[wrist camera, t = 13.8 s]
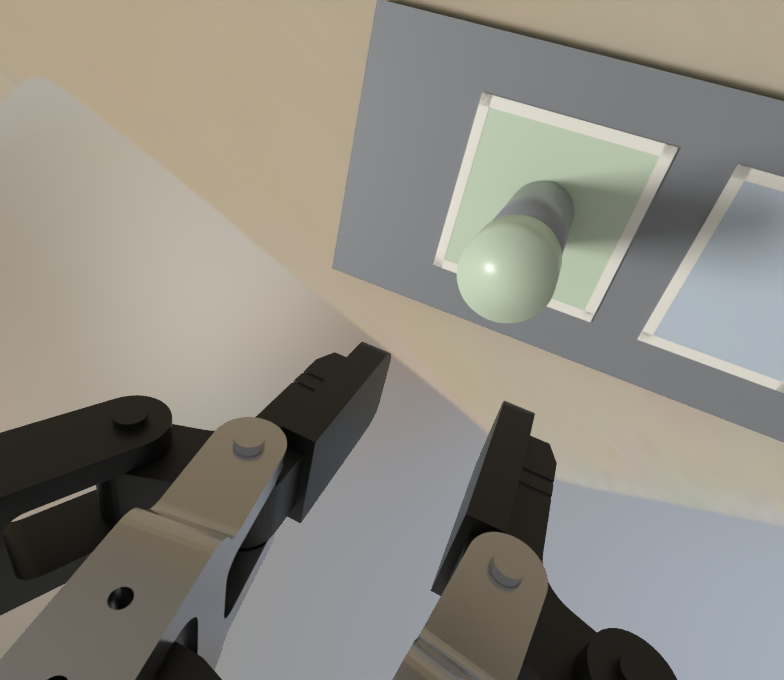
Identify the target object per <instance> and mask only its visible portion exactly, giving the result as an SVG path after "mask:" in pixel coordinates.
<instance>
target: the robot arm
mask: <svg viewBox="0 0 784 680" xmlns="http://www.w3.org/2000/svg"><path fill="white" fill-rule="evenodd" d="M390 359H391V353H389V352H386V351H384V350H381V349H379V348H376V347H374V346H372V345H369V344H367V343H364V342H361V343H360V344H359V345H358V346H357V347H356V348H355V349H354V350H353V351H352V352H351V353H350V354H349V355H348V357H344V356H342V355H340V354H337V353H332V354H329V355H327V356H324V357H321V358H319V359H316V360H315V361H314V363H312V364H311V365H310V366H309V367H308V368H307V369H306V370H305V371H304V373H302V374H301V375H300V376H298V377H297V378H296V379H295V380H294V383H291V384H290V385H289V386H288V387H287V388H286V389H285V390H284V391H283V392H282V393H281V394H280V395H278V396H277V397H276V398H275V399H274V400H273V401H272V402H271V403H270V404H269V405H268V406H267V407H266V408H265V409H264V410H263V411H262V412H261V413H259V414H258V416H256V417H244V418H238V419H234V420H231V421H228V422H226V423H224V424H223V425H221V426H220V427H219V428H218V429H217V430H216V431H209V430H202V429H196V428H191V427H185V426H180V425H174V424H172V414H171V411H170V409H169V408H168V406H167V405H166V404H164V403H163V402H162V401H160V400H157V399H155V398H152V397H147V396H138V395H136V396H125V397H120V398H116V399H113V400H109V401H106V402H103V403H99V404H96V405H93V406H89V407H86V408H82V409H79V410H76V411H72V412H69V413H66V414H62V415H59V416H55V417H52V418H49V419H46V420H42V421H39V422H35V423H32V424H28V425H25V426H22V427H19V428H15V429H12V430H8V431H5V432H1V433H0V615H2V614H4V613H6V612H8V611H10V610H12V609H14V608H16V607H18V606H20V605H23V604H24V603H26V602H28V601H31V600H33V599H34V598H37V597H39V596H41V595H43V594H45V593H47V592H49V591H51V590H53V589H55V588H57V587H59V586H61V585H63V584H65V583H66V584H65V585H64V586H63V587H62V588H61V590H60V591H59V592H58V593H57V594H56V595H55V596H54V598H53V599H52V600H51V601H50V602H49V603H48V605H47V606H46V607H45V608H44V609H43V611H42V612H41V613H40V614H39V615H38V616H37V617H36V619H35V620H34V621H33V622H32V623H31V625H30V626H29V627H28V628H27V629H26V630H25V632H24V633H23V634H22V635H21V636H20V637H19V638H18V640H17V641H16V642H15V643H14V644H13V645H12V647H11V648H10V649H9V650H8V651H7V652H6V654H5V655H4V656H3V657H2V658H1V659H0V680H222V679H221V678H220V677H219V676H218V675H217V673H216V672H215V671H214V670H215V667H216V665H217V662H218V659H219V657H220V654H221V651H222V647H223V643H224V641H225V638H226V635H227V633H228V630H229V628H230V626H231V624H232V622H233V620H234V618H235V616H236V614H237V612H238V610H239V607H240V606H241V604H242V602H243V600H244V598H245V596H246V594H247V592H248V590H249V588H250V586H251V584H252V582H253V580H254V578H255V576H256V574H257V572H258V570H259V568H260V566H261V564H262V562H263V560H264V558H265V556H266V555H267V552H268V550H269V548H270V547H271V544H272V542H273V539H274V533H275V532H276V530H277V529H278V528H279V526H280V525H281V524H282V522H283V521H284V520H285V518H286V517H287V516H288V517H290V518H291V519H294V520H295V521H297V522H299V523H301V522H302V520H303V519H304V518H305V516H306V515H307V513H308V512H309V511H310V509H311V508H312V506H313V505H314V503H315V502H316V501H317V499H318V498H319V496H320V495H321V493H322V492H323V491H324V489H325V488H326V486H327V485H328V483H329V482H330V480H331V479H332V477H333V476H334V475H335V473H336V472H337V471H338V469H339V468H340V466H341V465H342V464H343V462H344V461H345V459H346V458H347V456H348V455H349V453H350V452H351V451H352V449H353V448H354V446H355V445H356V444H357V442H358V441H359V439H360V438H361V436H362V435H363V434H364V432H365V431H366V429H367V428H368V426H369V425H370V423H371V421H372V419H373V417H374V415H375V413H376V411H377V408H378V405H379V402H380V398H381V394H382V390H383V387H384V383H385V379H386V376H387V371H388V368H389V364H390ZM534 415H535V413H533V412H530V411H528V410H525V409H523V408H521V407H518V406H516V405H513V404H511V403H509V402H506V401H503V403H502V405H501V408H500V410H499V412H498V414H497V417H496V419H495V421H494V424H493V426H492V428H491V430H490V433H489V435H488V437H487V440H486V442H485V444H484V446H483V449H482V451H481V453H480V456H479V458H478V461H477V463H476V466H475V468H474V471H473V474H472V477H471V479H470V482H469V485H468V488H467V491H466V494H465V497H464V499H463V502H462V505H461V508H460V510H459V513H458V516H457V519H456V522H455V524H454V527H453V530H452V533H451V536H450V538H449V542H448V544H447V547H446V549H445V552H444V555H443V558H442V561H441V563H440V566H439V569H438V572H437V575H436V577H435V580H434V583H433V586H432V589H431V591H432V592H434V593H436V594H438V595H440V596H441V597H440V599H439V601H438V603H437V604H436V606H435V608H434V610H433V612H432V614H431V615H430V617H429V619H428V621H427V622H426V624H425V626H424V628H423V630H422V631H421V633H420V635H419V636H418V638H417V639H416V640H415V641H414V643H413V644H412V646H411V648H410V650H409V651H408V653H407V655H406V657H405V658H404V660H403V662H402V664H401V666H400V667H399V669H398V671H397V673H396V674H395V676H394V678H393V680H677V678H676V676H675V675H674V673H673V671H672V669H671V668H670V666H669V665H668V663H667V662H666V661H665V660H664V658H663V657H662V656H661V655H660V654H659V653H658V652H657V651H656V650H655V649H654V648H653V647H652V646H651V645H649V643H647V642H646V641H645V640H643V639H642V638H640V637H638V636H637V635H635V634H633V633H631V632H628V631H625V630H623V629H617V628H608V629H603V630H601V631H599V632H595V631H594V630H593V629H592V628H590V626H588V625H587V624H586V623H585V622H584V621H582V620H581V619H580V618H579V617H578V616H576V615H575V614H574V613H573V612H572V611H571V610H570V609H568V608H567V607H566V606H565V605H564V604H563V603H562V601H561V600H560V599H559V598H558V597H557V595H556V594H555V593H554V591H553V590H552V588H551V586H550V584H549V583H548V579H547V574H546V571H545V568H544V566H543V561H542V560H543V549H544V544H545V537H546V530H547V523H548V517H549V510H550V503H551V496H552V490H553V482H554V477H555V470H556V464H557V463H556V460H555V458H554V455H553V452H552V449H551V447H550V444H549V443H546V442H544V441H541V440H539V439H537V438H534V437H532V436H530V433H531V428H532V424H533V420H534ZM94 485H96V488H97V490H94V491H92V492H89V493H87V494H84V495H82V496H79V497H77V498H74V499H72V500H69V501H66V502H64V503H62V504H59V505H57V506H54V507H51V508H49V509H47V510H44V511H41V512H39V513H36V514H34V515H31V516H29V517H26V518H24V519H21V520H18V521H15V522H11V521H12V520H13V519H15V518H16V517H18V516H20V515H21V514H23V513H26V512H28V511H30V510H33V509H36V508H38V507H41V506H43V505H46V504H48V503H51V502H54V501H56V500H58V499H61V498H64V497H66V496H69V495H71V494H74V493H76V492H79V491H81V490H84V489H86V488H89V487H92V486H94Z"/></svg>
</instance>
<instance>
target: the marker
mask: <svg viewBox="0 0 784 680" xmlns="http://www.w3.org/2000/svg"><path fill="white" fill-rule="evenodd" d="M573 216H574V206H573V202H572V199H571V197H570V195H569V194H568V193H567V191H566V190H565V189H564V188H563V187H561V186H560V185H558V184H556V183H554V182H550V181H544V180H542V181H534V182H531V183H528V184H526V185H524V186H523V187H521V188H520V189H519V190H518V191H517V192H516V193H515V194H514V195H513V197H512V198H511V199H510V200H509V201H508V203H507V204H506V205H505V206H504V207H503V208H502V210H501V211H500V212H499V213H498V214H497V216H496V217H495V218H494V219H493V220H492V221H491V222H490V223H488V224H487V225H486V226H485V227H484V228H483V229H482V230H481V231H480V232H479V233H478V234H477V235H476V237H475V238H474V239H473V240H472V241H471V242H470V244H469V245H468V246H467V247H466V249H465V250H464V251H463V253H462V255H461V257H460V259H459V262H458V266H457V283H458V287H459V291H460V293H461V295H462V297H463V299H464V300H465V302H466V303H467V304H468V306H469V307H470V308H471V309H472V310H473V311H475V312H476V313H477V314H479V315H480V316H482V317H484V318H486V319H488V320H491V321H494V322H498V323H507V324H509V323H519V322H523V321H526V320H528V319H531V318H533V317H534V316H536V315H537V314H539V313H540V312H541V311H542V310H543V309H544V308H545V307H546V306H547V305H548V303H549V302H550V300H551V299H552V297H553V294H554V292H555V289H556V285H557V281H558V278H559V274H560V271H561V266H562V255H563V251H564V248H565V244H566V241H567V237H568V234H569V231H570V227H571V224H572V220H573Z"/></svg>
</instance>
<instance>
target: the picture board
mask: <svg viewBox="0 0 784 680" xmlns="http://www.w3.org/2000/svg"><path fill="white" fill-rule="evenodd" d="M542 180H544V181H550V182H554V183H556V184H558V185H560V186H561V187H563V188H564V189H565V190H566V191H567V193H568V194H569V195H570V197H571V199H572V202H573V206H574V216H573V220H572V224H571V227H570V231H569V234H568V237H567V241H566V244H565V248H564V251H563V255H562V266H561V271H560V274H559V278H558V281H557V285H556V289H555V292H554V294H553V297H552V299H551V300H550V302H549V303H548V305H547V306H546V307H545V308H544V309H543V310H542V311H541V312H540V313H539V314H537V315H536V316H534V317H533V318H531V319H528V320H526V321H523V322H519V323H509V324H507V323H498V322H494V321H491V320H488V319H486V318H484V317H482V316H480V315H479V314H477V313H476V312H475V311H473V310H472V309H471V308H470V307H469V306H468V304H467V303H466V302H465V300H464V299H463V297H462V295H461V293H460V291H459V287H458V283H457V266H458V262H459V259H460V257H461V255H462V253H463V251H464V250H465V249H466V247H467V246H468V245H469V244H470V242H471V241H472V240H473V239H474V238H475V237H476V235H477V234H478V233H479V232H480V231H481V230H482V229H483V228H484V227H485V226H486V225H487V224H488V223H490V222H491V221H492V220H493V219H494V218H495V217H496V216H497V214H498V213H499V212H500V211H501V210H502V208H503V207H504V206H505V205H506V204H507V203H508V201H509V200H510V199H511V198H512V197H513V195H514V194H515V193H516V192H517V191H518V190H519V189H520V188H521V187H523V186H524V185H526V184H528V183H531V182H534V181H542ZM332 268H333V269H335V270H338V271H341V272H343V273H346V274H348V275H351V276H354V277H356V278H359V279H361V280H364V281H367V282H369V283H372V284H374V285H377V286H380V287H382V288H385V289H387V290H390V291H392V292H395V293H398V294H400V295H403V296H405V297H408V298H411V299H413V300H416V301H418V302H421V303H424V304H426V305H429V306H431V307H434V308H437V309H439V310H442V311H444V312H447V313H450V314H452V315H455V316H457V317H460V318H463V319H465V320H468V321H470V322H473V323H475V324H478V325H481V326H483V327H486V328H488V329H491V330H494V331H496V332H499V333H501V334H504V335H507V336H509V337H512V338H514V339H517V340H520V341H522V342H525V343H527V344H530V345H533V346H535V347H538V348H540V349H543V350H546V351H548V352H551V353H553V354H556V355H559V356H561V357H564V358H566V359H569V360H571V361H574V362H577V363H579V364H582V365H584V366H587V367H590V368H592V369H595V370H597V371H600V372H603V373H605V374H608V375H610V376H613V377H616V378H618V379H621V380H623V381H626V382H629V383H631V384H634V385H636V386H639V387H642V388H644V389H647V390H649V391H652V392H654V393H657V394H660V395H662V396H665V397H667V398H670V399H673V400H675V401H678V402H680V403H683V404H686V405H688V406H691V407H693V408H696V409H699V410H701V411H704V412H706V413H709V414H712V415H714V416H717V417H719V418H722V419H725V420H727V421H730V422H732V423H735V424H738V425H740V426H743V427H745V428H748V429H750V430H753V431H756V432H758V433H761V434H763V435H766V436H769V437H771V438H774V439H776V440H779V441H782V442H784V101H781V100H777V99H773V98H769V97H765V96H762V95H758V94H754V93H750V92H746V91H742V90H738V89H734V88H730V87H726V86H722V85H718V84H714V83H710V82H706V81H702V80H698V79H694V78H690V77H686V76H682V75H678V74H674V73H670V72H666V71H662V70H658V69H654V68H651V67H647V66H643V65H639V64H635V63H631V62H627V61H623V60H619V59H615V58H611V57H607V56H603V55H599V54H595V53H591V52H587V51H583V50H579V49H575V48H571V47H567V46H563V45H559V44H555V43H551V42H547V41H543V40H540V39H536V38H532V37H528V36H524V35H520V34H516V33H512V32H508V31H504V30H500V29H496V28H492V27H488V26H484V25H480V24H476V23H472V22H468V21H464V20H460V19H456V18H452V17H448V16H444V15H440V14H436V13H432V12H428V11H425V10H421V9H417V8H413V7H409V6H405V5H401V4H397V3H393V2H389V1H385V0H377V3H376V9H375V15H374V21H373V27H372V33H371V39H370V45H369V51H368V57H367V63H366V69H365V75H364V81H363V87H362V93H361V99H360V105H359V111H358V117H357V123H356V129H355V135H354V141H353V147H352V153H351V159H350V165H349V170H348V176H347V182H346V188H345V194H344V200H343V206H342V212H341V218H340V224H339V230H338V236H337V242H336V248H335V254H334V260H333V266H332Z"/></svg>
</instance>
